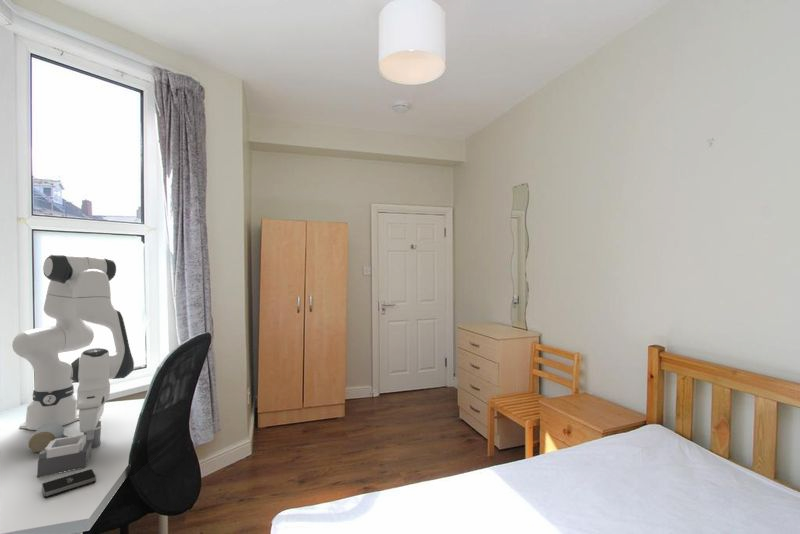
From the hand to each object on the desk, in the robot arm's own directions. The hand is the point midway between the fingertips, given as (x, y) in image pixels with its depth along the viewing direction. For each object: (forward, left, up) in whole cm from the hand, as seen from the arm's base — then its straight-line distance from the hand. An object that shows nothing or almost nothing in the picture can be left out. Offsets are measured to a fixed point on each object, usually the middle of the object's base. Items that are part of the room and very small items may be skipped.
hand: (92, 435), depth 128 cm
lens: (0, 0, -4) cm, 4 cm away
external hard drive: (+28, -1, -4) cm, 28 cm away
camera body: (+13, -5, -4) cm, 14 cm away
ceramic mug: (-6, -12, -4) cm, 14 cm away
